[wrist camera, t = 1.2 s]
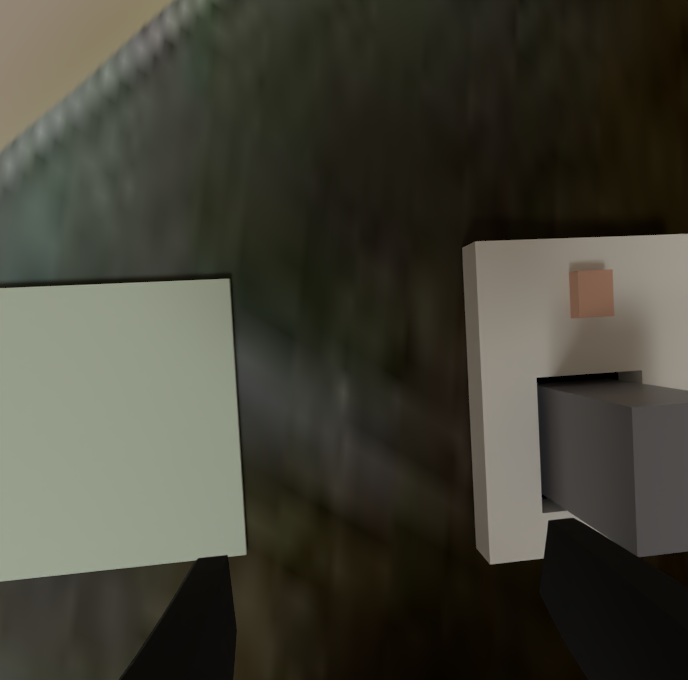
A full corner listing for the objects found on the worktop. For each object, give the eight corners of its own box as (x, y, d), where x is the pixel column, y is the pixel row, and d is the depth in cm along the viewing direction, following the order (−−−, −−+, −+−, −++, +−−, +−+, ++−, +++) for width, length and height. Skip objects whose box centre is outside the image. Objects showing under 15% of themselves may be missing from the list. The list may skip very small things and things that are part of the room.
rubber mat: (247, 551, 20) (246, 554, 20) (-23, 580, 19) (-28, 584, 18) (230, 279, 20) (229, 278, 19) (-46, 290, 18) (-51, 290, 18)
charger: (611, 480, 22) (745, 544, 15) (533, 488, 21) (637, 557, 15) (607, 378, 22) (740, 398, 15) (529, 383, 21) (631, 407, 15)
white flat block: (670, 525, 22) (710, 546, 20) (476, 547, 21) (496, 572, 19) (661, 240, 22) (700, 230, 20) (462, 247, 21) (480, 238, 19)
